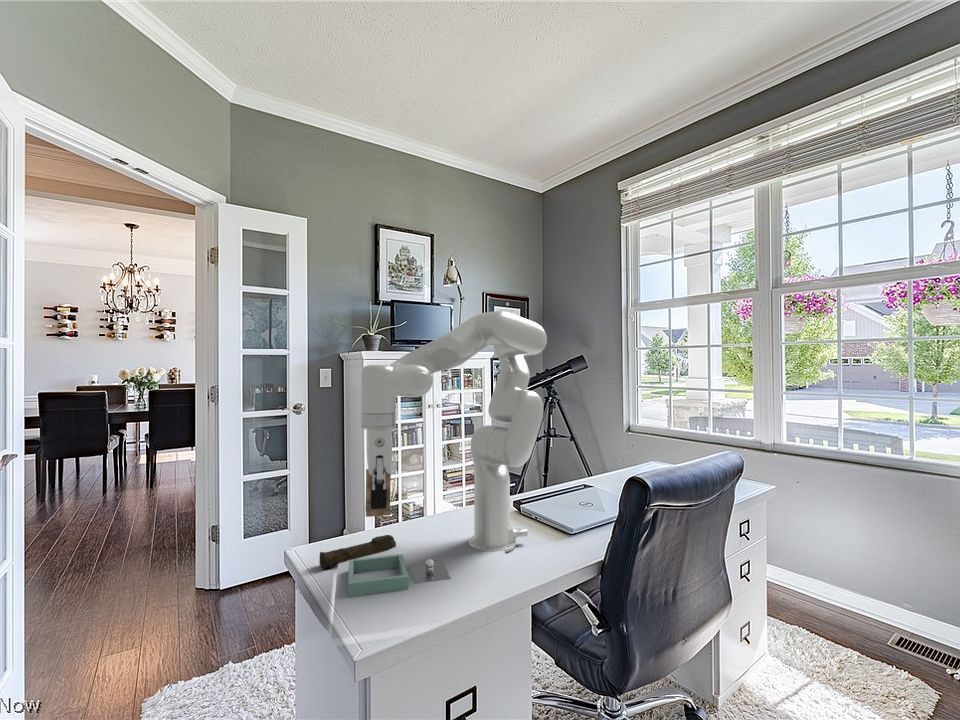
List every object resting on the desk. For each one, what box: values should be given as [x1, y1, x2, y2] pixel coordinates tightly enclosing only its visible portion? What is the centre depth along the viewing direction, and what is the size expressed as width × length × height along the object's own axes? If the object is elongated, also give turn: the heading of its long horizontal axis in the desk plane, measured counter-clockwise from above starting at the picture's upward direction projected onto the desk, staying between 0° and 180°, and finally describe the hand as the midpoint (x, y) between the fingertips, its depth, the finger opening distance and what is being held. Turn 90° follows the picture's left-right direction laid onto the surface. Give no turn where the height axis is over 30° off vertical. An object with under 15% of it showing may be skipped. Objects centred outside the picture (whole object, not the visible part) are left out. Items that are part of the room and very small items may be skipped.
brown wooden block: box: [364, 468, 392, 518], centre depth 98 cm, size 5×5×9 cm
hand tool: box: [319, 534, 397, 571], centre depth 110 cm, size 19×4×5 cm, turn 122°
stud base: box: [409, 558, 451, 585], centre depth 101 cm, size 8×8×4 cm
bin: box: [347, 553, 409, 598], centre depth 98 cm, size 12×12×4 cm
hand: (377, 503), depth 98 cm, fingers closed on brown wooden block, 5 cm apart
